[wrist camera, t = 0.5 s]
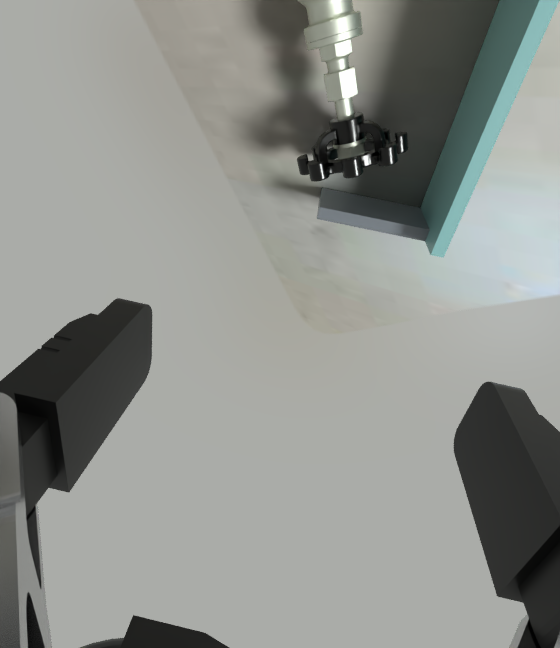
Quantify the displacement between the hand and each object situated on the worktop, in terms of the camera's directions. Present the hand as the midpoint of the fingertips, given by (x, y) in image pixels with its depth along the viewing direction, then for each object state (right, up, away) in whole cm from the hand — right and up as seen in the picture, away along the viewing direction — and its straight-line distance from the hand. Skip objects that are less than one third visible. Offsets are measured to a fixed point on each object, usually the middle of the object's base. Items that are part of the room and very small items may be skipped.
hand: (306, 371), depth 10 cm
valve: (+3, +18, +15) cm, 23 cm away
